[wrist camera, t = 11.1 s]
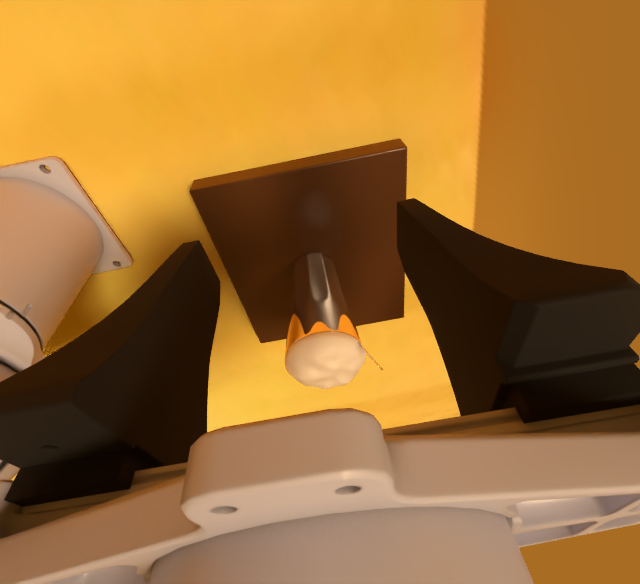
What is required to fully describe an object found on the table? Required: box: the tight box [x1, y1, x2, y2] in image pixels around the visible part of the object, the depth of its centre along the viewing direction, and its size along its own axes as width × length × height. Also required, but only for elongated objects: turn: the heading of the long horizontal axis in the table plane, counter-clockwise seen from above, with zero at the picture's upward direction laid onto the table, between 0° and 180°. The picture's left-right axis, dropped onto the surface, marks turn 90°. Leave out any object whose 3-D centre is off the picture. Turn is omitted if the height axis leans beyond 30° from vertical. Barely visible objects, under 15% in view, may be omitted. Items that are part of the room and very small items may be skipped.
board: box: [190, 139, 407, 343], centre depth 25 cm, size 13×15×2 cm
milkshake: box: [285, 253, 383, 389], centre depth 21 cm, size 4×5×10 cm
